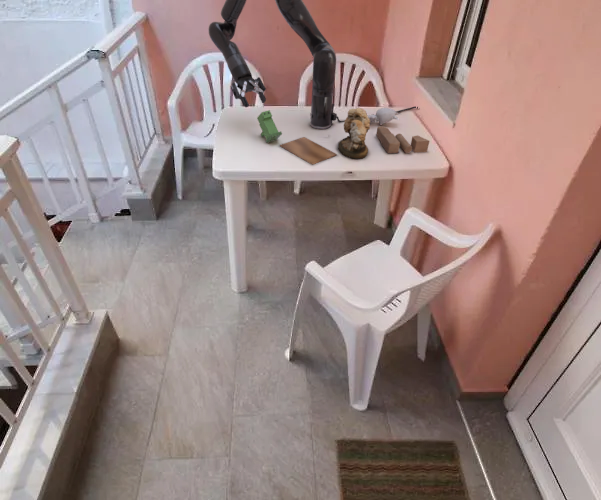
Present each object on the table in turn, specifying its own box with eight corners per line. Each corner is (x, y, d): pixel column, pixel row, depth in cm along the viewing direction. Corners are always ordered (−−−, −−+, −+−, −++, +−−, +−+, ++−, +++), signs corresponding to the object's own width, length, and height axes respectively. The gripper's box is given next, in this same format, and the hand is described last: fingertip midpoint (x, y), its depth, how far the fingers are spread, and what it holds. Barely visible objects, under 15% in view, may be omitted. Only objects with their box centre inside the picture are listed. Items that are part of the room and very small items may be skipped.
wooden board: (304, 138, 176) (304, 136, 176) (336, 155, 165) (336, 154, 164) (280, 146, 170) (280, 144, 169) (312, 164, 158) (312, 163, 158)
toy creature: (358, 109, 195) (402, 107, 191) (358, 125, 198) (401, 123, 193) (355, 109, 184) (402, 107, 179) (355, 126, 186) (401, 124, 181)
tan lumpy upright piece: (333, 140, 175) (336, 100, 164) (359, 139, 177) (364, 99, 166) (344, 160, 162) (348, 117, 151) (373, 158, 163) (379, 116, 153)
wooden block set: (390, 141, 163) (377, 123, 176) (388, 155, 166) (375, 136, 180) (431, 140, 165) (414, 122, 179) (428, 153, 169) (412, 134, 182)
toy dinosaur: (256, 137, 176) (255, 110, 168) (266, 134, 178) (265, 107, 171) (272, 146, 169) (272, 118, 162) (282, 143, 172) (282, 115, 164)
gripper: (226, 66, 163) (244, 103, 164) (256, 60, 171) (273, 96, 171) (221, 76, 170) (238, 112, 171) (249, 70, 177) (266, 105, 178)
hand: (256, 104), depth 171 cm, fingers open, 8 cm apart
